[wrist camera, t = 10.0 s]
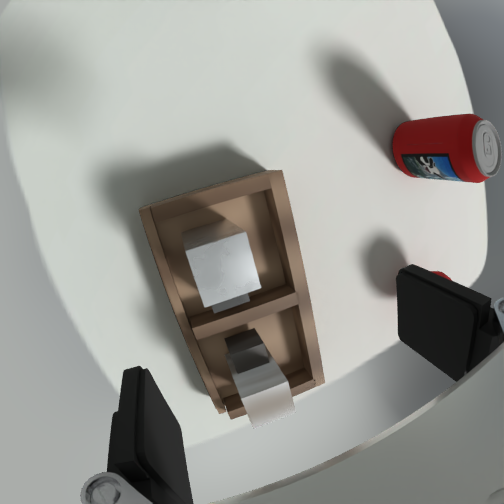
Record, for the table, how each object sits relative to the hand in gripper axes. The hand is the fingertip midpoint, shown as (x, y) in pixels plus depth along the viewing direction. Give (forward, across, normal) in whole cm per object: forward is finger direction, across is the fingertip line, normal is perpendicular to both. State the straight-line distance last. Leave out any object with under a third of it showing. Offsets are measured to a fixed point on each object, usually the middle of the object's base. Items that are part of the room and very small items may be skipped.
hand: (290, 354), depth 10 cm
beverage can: (+20, -25, -4) cm, 32 cm away
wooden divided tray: (+20, -1, +6) cm, 21 cm away
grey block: (+18, 0, +1) cm, 18 cm away
